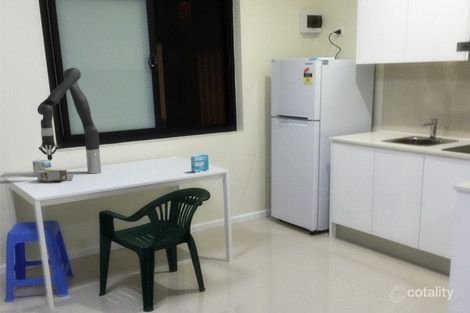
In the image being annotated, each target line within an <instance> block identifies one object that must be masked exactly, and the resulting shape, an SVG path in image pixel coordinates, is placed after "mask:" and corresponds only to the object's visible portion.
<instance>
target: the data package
mask: <svg viewBox="0 0 470 313" xmlns="http://www.w3.org/2000/svg"><path fill="white" fill-rule="evenodd" d="M209 163H210V162H209V155H208V154H205V153H201V154H195V155H194V154H192V155H191V156H190V165H191V167H190V168H191V172H192V171H193V173H195V172H198V173H201V172H200V171H204V172H207V171H206V170H208V171H209V170H210V168H209Z"/></svg>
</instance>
